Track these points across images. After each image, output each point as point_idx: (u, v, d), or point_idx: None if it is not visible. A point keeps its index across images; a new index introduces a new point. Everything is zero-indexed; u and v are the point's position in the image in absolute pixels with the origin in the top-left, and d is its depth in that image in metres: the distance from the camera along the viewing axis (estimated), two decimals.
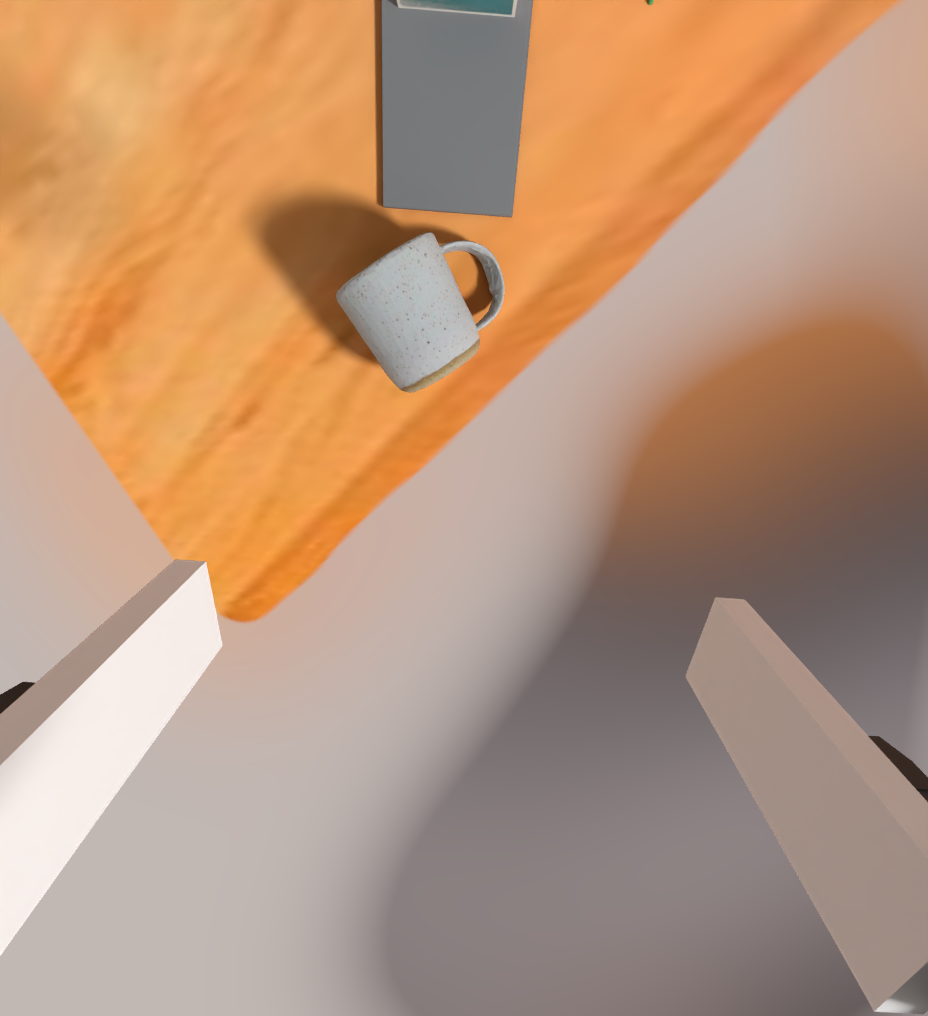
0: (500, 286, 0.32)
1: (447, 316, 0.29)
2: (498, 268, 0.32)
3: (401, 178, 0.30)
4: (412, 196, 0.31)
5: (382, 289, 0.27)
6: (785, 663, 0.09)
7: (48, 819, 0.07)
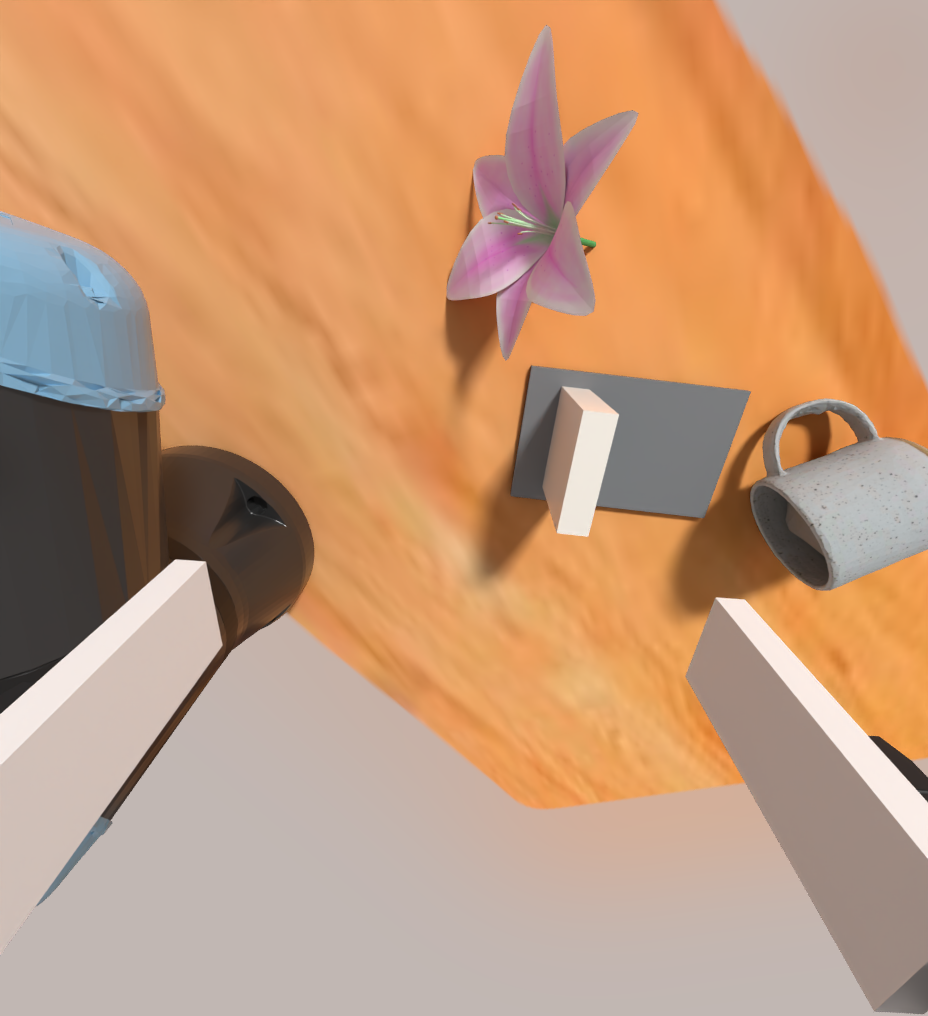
0: (826, 403, 0.28)
1: (897, 490, 0.25)
2: (806, 406, 0.28)
3: (686, 499, 0.32)
4: (703, 491, 0.31)
5: (857, 560, 0.25)
6: (785, 663, 0.09)
7: (48, 819, 0.07)
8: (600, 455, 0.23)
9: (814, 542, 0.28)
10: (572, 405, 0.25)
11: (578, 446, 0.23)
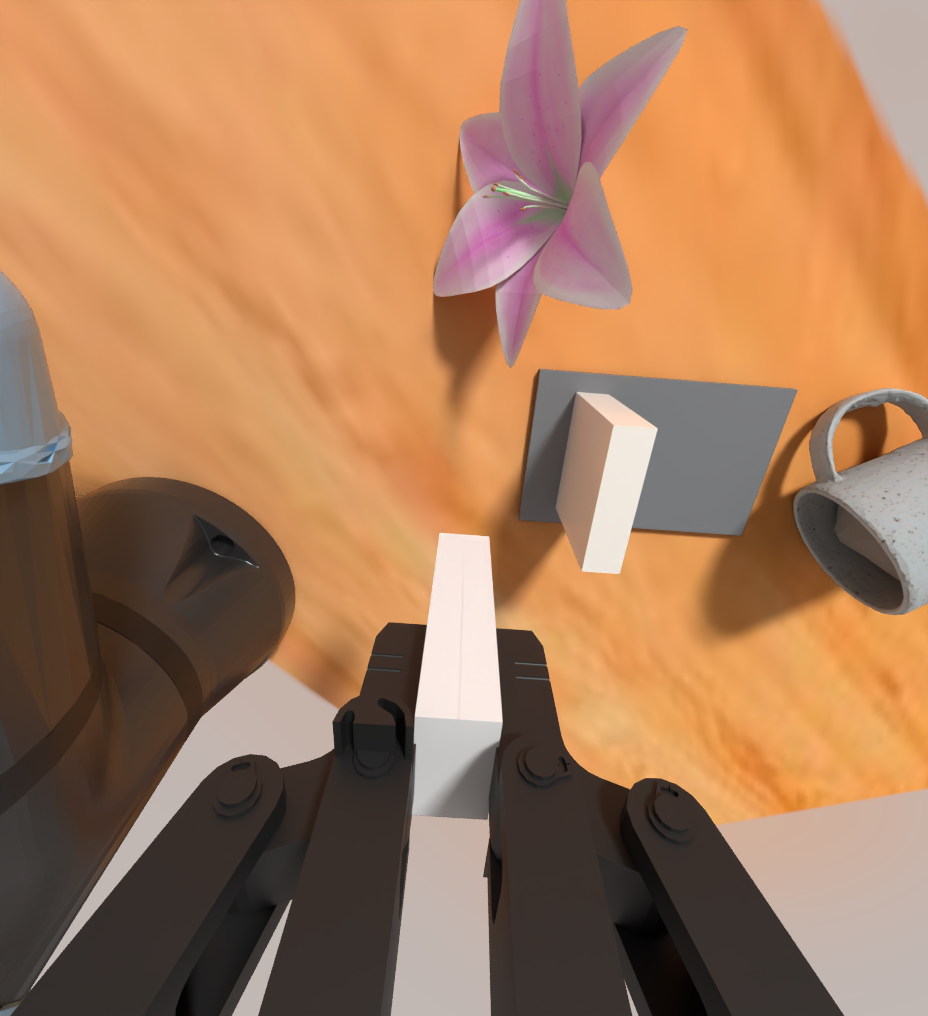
0: (886, 394, 0.23)
1: None
2: (863, 397, 0.24)
3: (721, 515, 0.28)
4: (741, 505, 0.27)
5: None
6: (477, 577, 0.11)
7: None
8: (634, 478, 0.19)
9: (877, 557, 0.24)
10: (594, 416, 0.21)
11: (608, 469, 0.19)
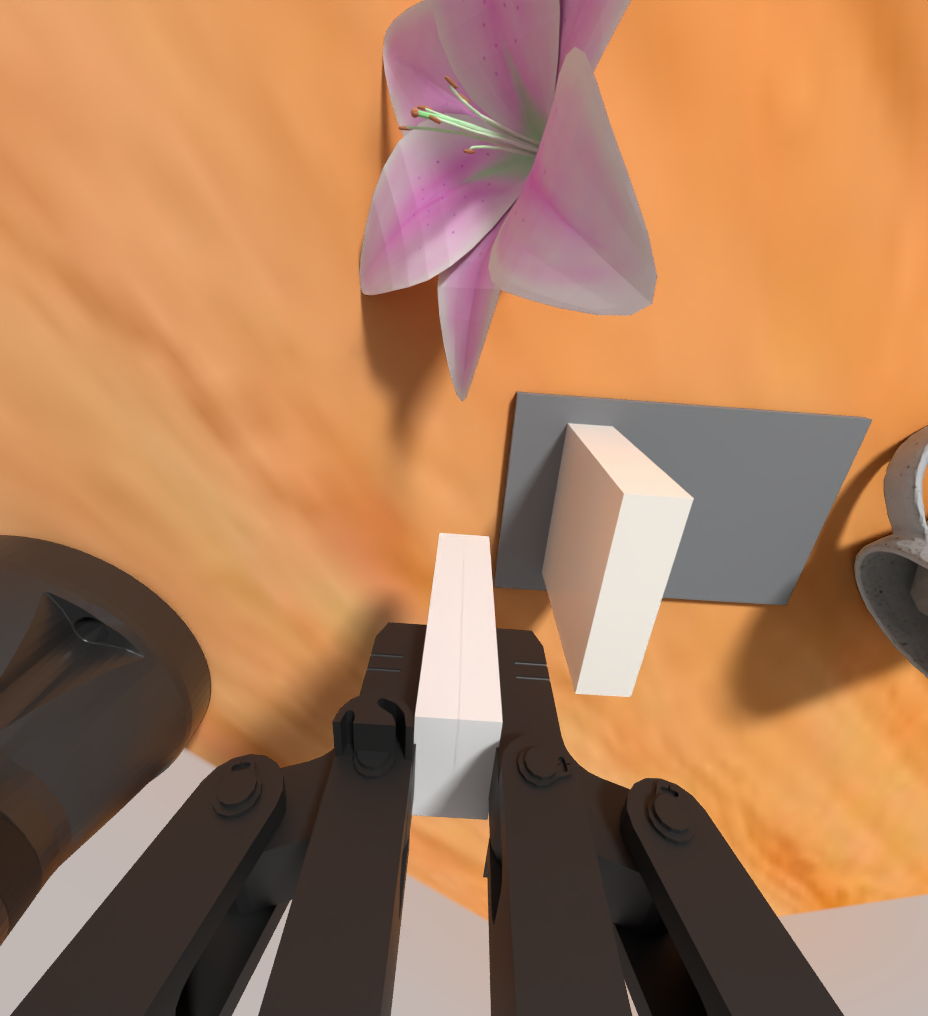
0: None
1: None
2: None
3: (760, 580, 0.21)
4: (787, 568, 0.21)
5: None
6: (477, 577, 0.11)
7: None
8: (655, 570, 0.12)
9: None
10: (593, 468, 0.14)
11: (614, 557, 0.12)
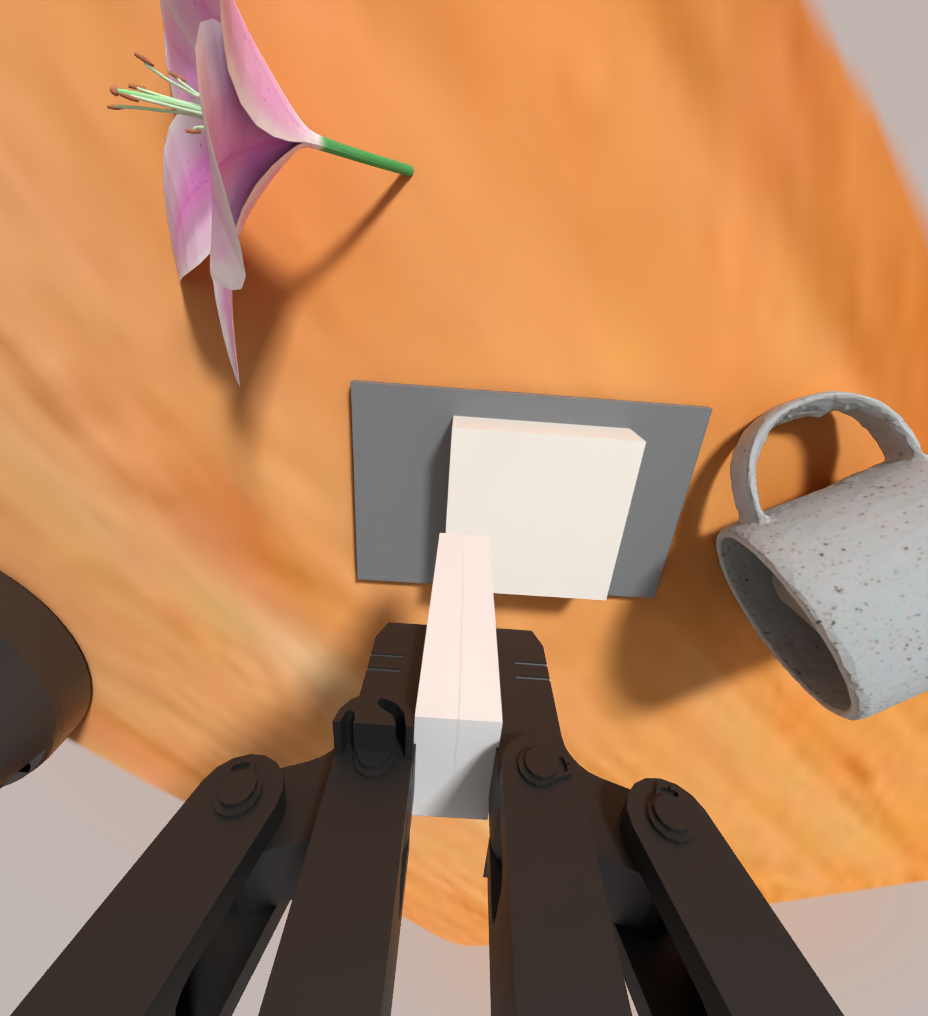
0: (831, 400, 0.16)
1: None
2: (798, 404, 0.16)
3: (624, 573, 0.21)
4: (649, 560, 0.20)
5: (903, 683, 0.14)
6: (477, 577, 0.11)
7: None
8: None
9: None
10: (569, 445, 0.16)
11: (632, 488, 0.17)
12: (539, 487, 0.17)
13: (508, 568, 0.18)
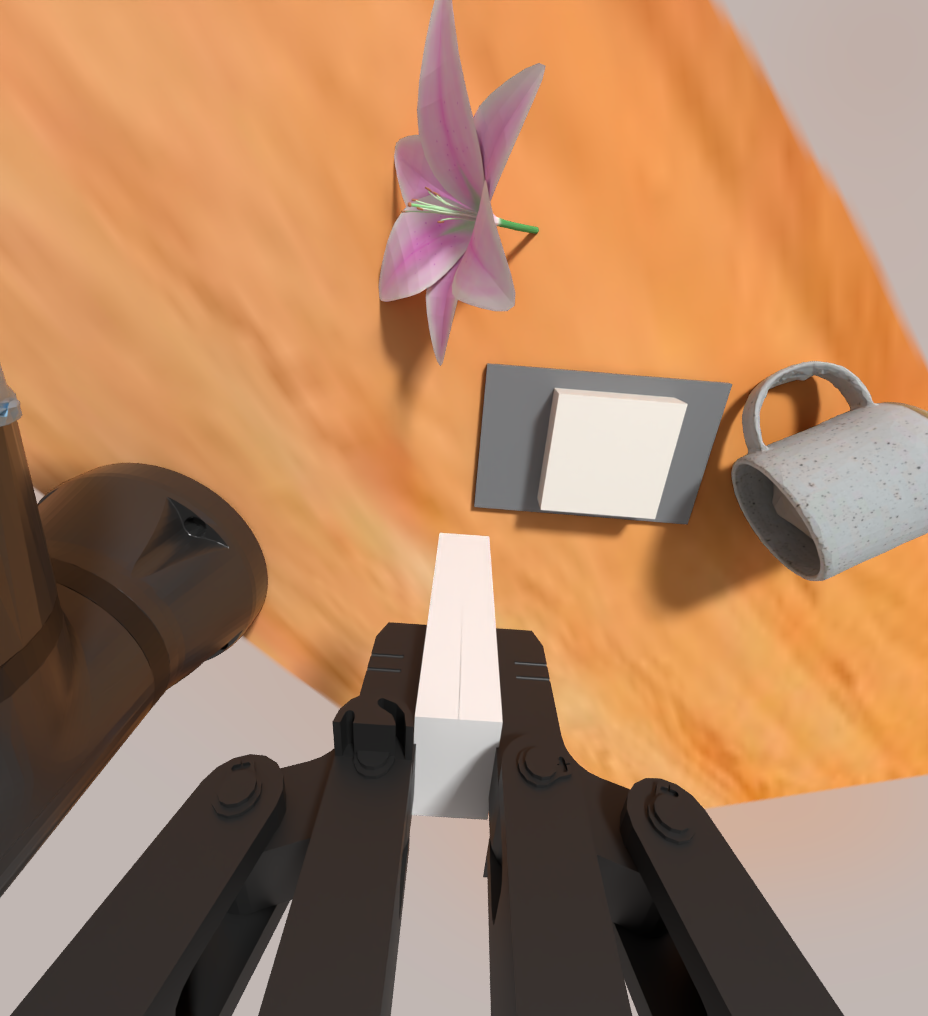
0: (811, 367, 0.24)
1: (897, 461, 0.21)
2: (788, 370, 0.24)
3: (666, 504, 0.29)
4: (685, 495, 0.29)
5: (852, 544, 0.22)
6: (477, 577, 0.11)
7: None
8: None
9: (804, 526, 0.25)
10: (636, 406, 0.25)
11: (676, 436, 0.25)
12: (614, 435, 0.25)
13: (588, 494, 0.27)
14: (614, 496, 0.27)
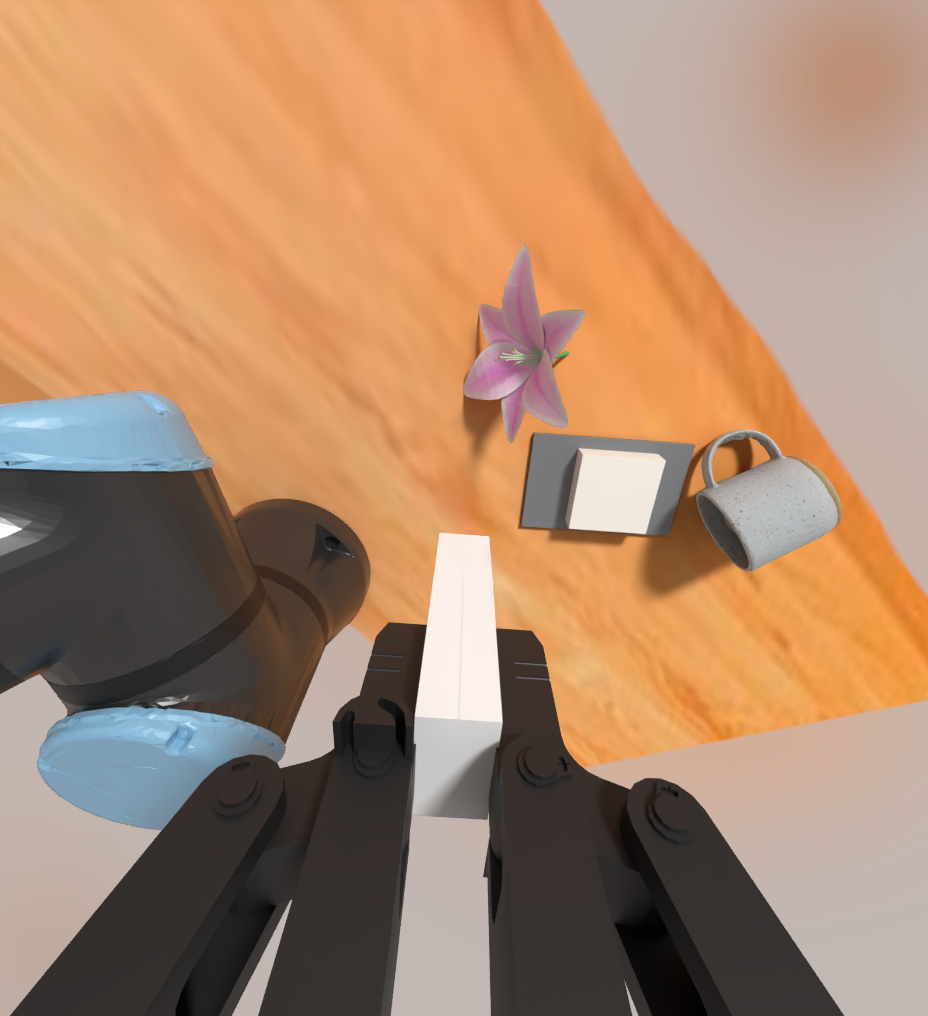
0: (744, 433, 0.37)
1: (791, 497, 0.34)
2: (729, 435, 0.38)
3: (653, 523, 0.42)
4: (666, 516, 0.42)
5: (766, 548, 0.35)
6: (477, 577, 0.11)
7: None
8: None
9: None
10: (632, 462, 0.38)
11: (659, 480, 0.39)
12: (618, 480, 0.38)
13: (601, 518, 0.40)
14: (618, 519, 0.40)
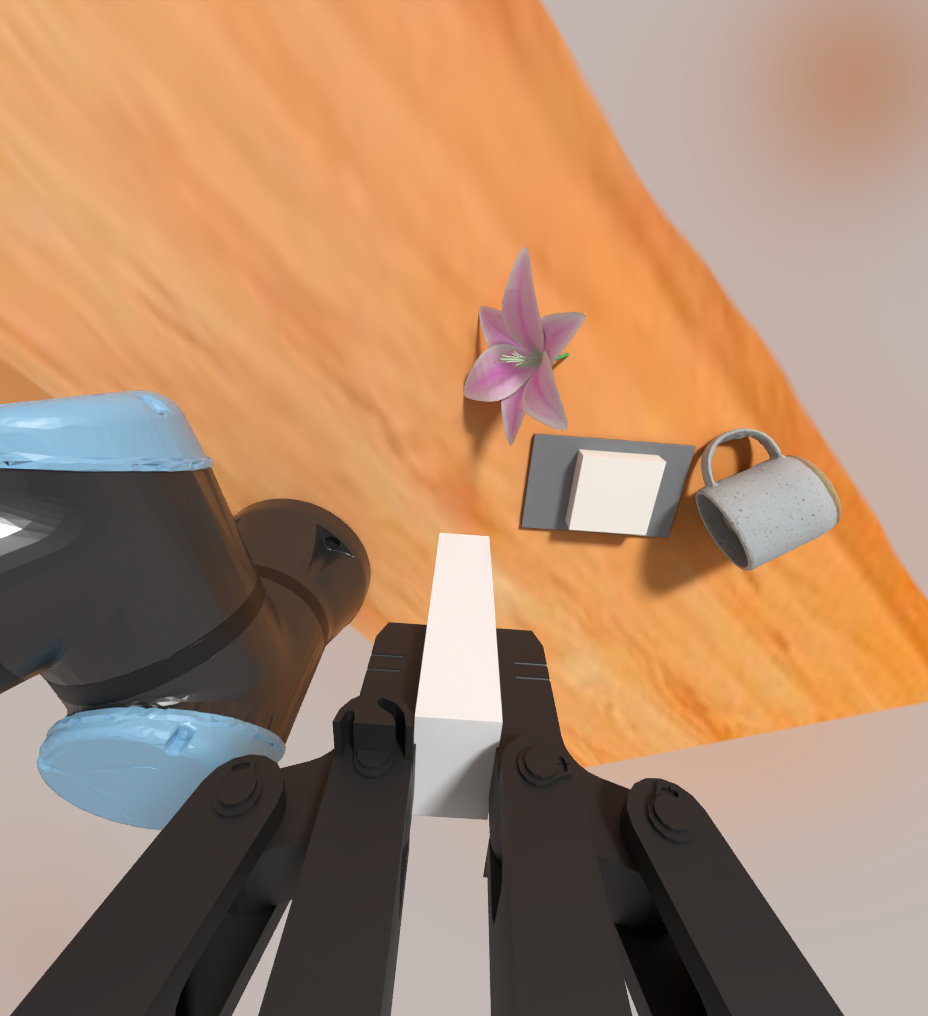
0: (743, 432, 0.37)
1: (791, 496, 0.34)
2: (729, 434, 0.37)
3: (653, 524, 0.42)
4: (666, 518, 0.42)
5: (765, 547, 0.35)
6: (477, 577, 0.11)
7: None
8: None
9: None
10: (633, 463, 0.38)
11: (659, 482, 0.39)
12: (618, 481, 0.38)
13: (601, 519, 0.40)
14: (618, 520, 0.40)
